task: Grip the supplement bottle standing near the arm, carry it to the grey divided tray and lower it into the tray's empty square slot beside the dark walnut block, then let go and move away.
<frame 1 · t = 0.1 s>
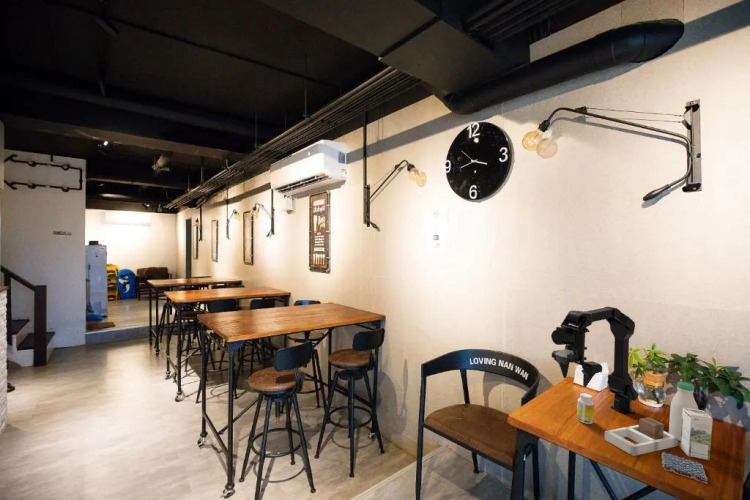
hand: (574, 382, 138), 15 cm above the table, tool pointing down, fingers open, 9 cm apart
grey divided tray: (640, 442, 123), on the table
supplement bottle: (584, 421, 137), on the table
woven mat: (682, 470, 109), on the table
walnut block: (650, 440, 124), resting in grey divided tray
milk bottle: (682, 438, 127), on the table
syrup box: (694, 455, 117), on the table
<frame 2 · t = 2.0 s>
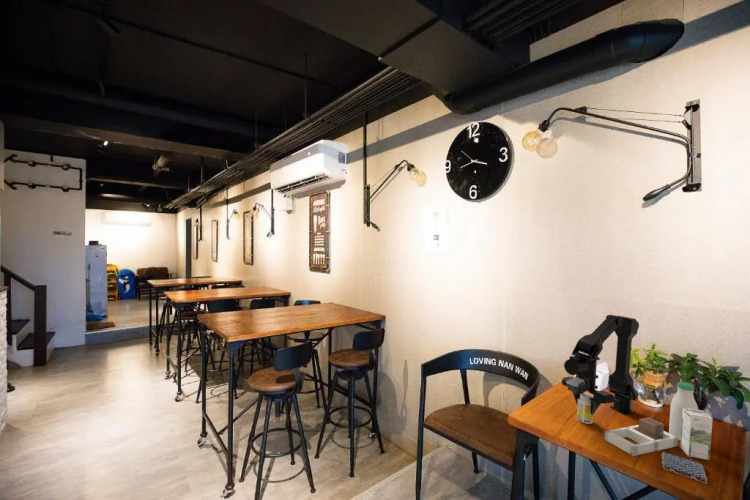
hand: (585, 410, 137), 4 cm above the table, tool pointing down, fingers closed on supplement bottle, 5 cm apart
supplement bottle: (584, 421, 137), on the table, touching gripper
everything else where it was.
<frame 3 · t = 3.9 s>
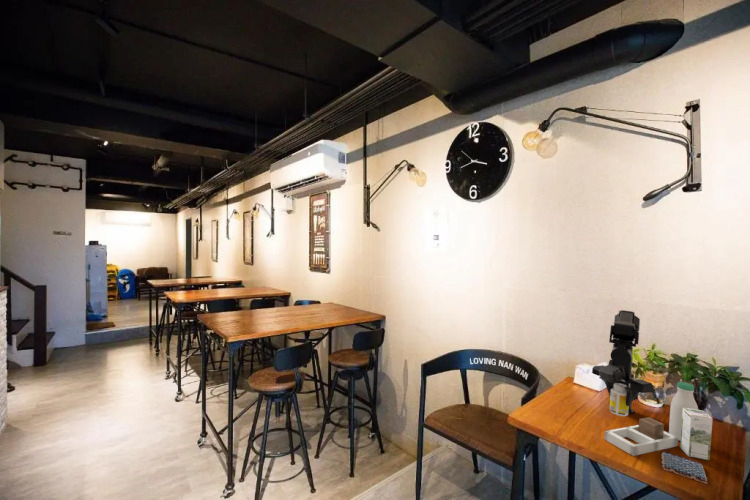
hand: (619, 402, 125), 13 cm above the table, tool pointing down, fingers closed on supplement bottle, 5 cm apart
supplement bottle: (618, 413, 125), point 9 cm above the table, touching gripper
everything else where it was.
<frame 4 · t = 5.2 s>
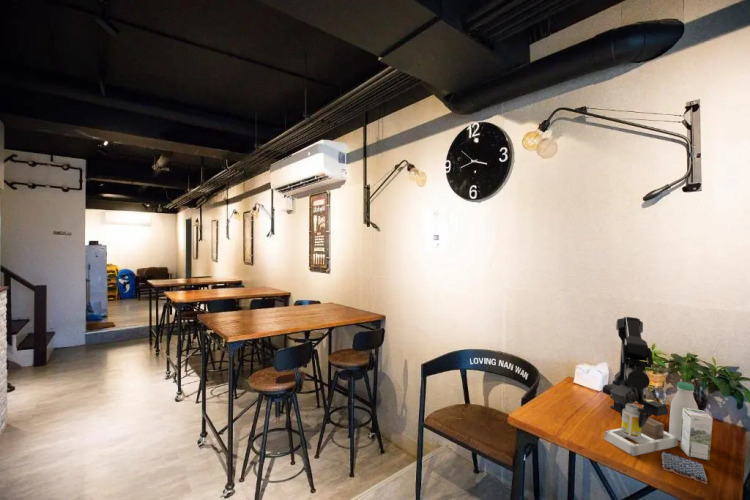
hand: (631, 423, 121), 8 cm above the table, tool pointing down, fingers closed on supplement bottle, 5 cm apart
supplement bottle: (630, 435, 121), point 3 cm above the table, touching gripper
everything else where it was.
when the fingers open (5 cm above the table, at t = 6.0 s): supplement bottle drops 1 cm, resting in grey divided tray.
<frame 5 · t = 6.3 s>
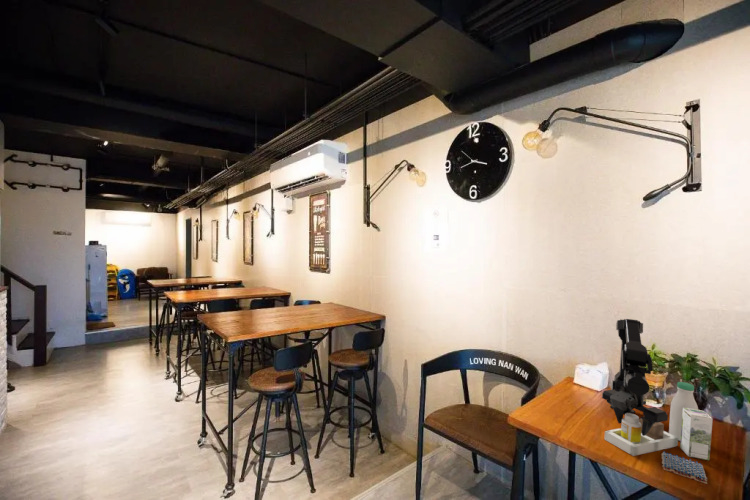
hand: (631, 429, 121), 5 cm above the table, tool pointing down, fingers open, 8 cm apart
supplement bottle: (630, 445, 121), resting in grey divided tray
everything else where it was.
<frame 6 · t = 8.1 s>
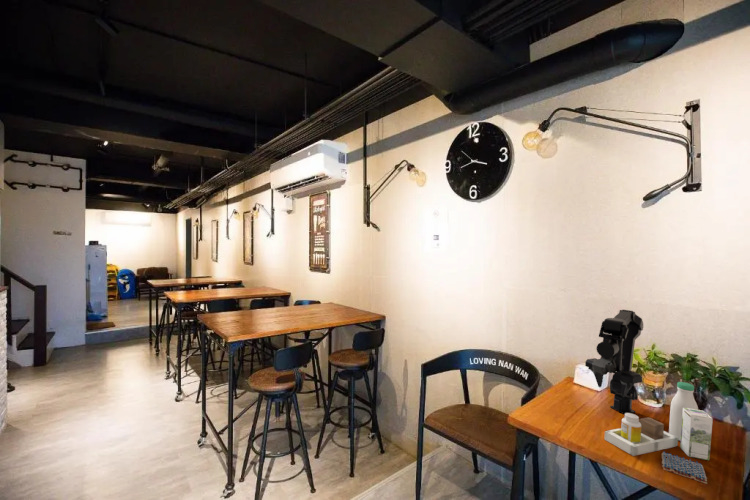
hand: (611, 391, 135), 13 cm above the table, tool pointing down, fingers open, 9 cm apart
nothing on the table moved.
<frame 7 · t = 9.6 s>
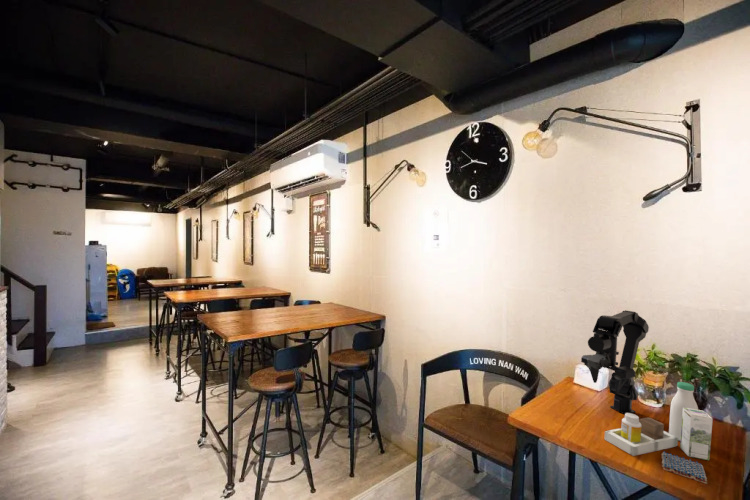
hand: (605, 387, 139), 13 cm above the table, tool pointing down, fingers open, 9 cm apart
nothing on the table moved.
at the end: supplement bottle 0.2 cm from the target spot on the grey divided tray, point 0.0 cm above the grey divided tray's base; supplement bottle tilted 0°; the gripper is holding nothing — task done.
